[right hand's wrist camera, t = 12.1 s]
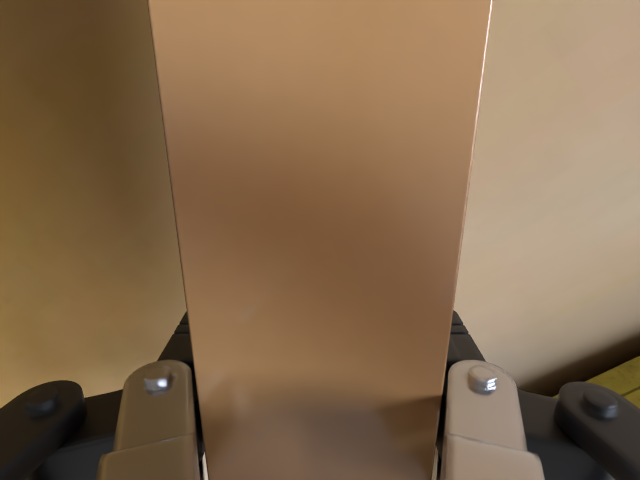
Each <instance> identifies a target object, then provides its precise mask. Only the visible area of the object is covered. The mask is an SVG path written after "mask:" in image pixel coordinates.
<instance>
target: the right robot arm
mask: <svg viewBox="0 0 640 480" xmlns="http://www.w3.org/2000/svg"><path fill="white" fill-rule="evenodd" d="M436 446H437V449H438V456H437V464H436V476H435V480H640V409H639V408H638V407H637V406H635V405H634V404H633V403H631V402H630V401H628V400H627V399H626V398H624V397H623V396H621V395H620V394H618V393H616V392H614V391H612V390H610V389H608V388H606V387H603V386H600V385H597V384H593V383H588V382H570V383H567V384H565V385H563V386H562V387H561V388H560V391H559V394H558V398H553V397H548V396H544V395H539V394H535V393H530V392H526V391H523V390H520V389H517V387H516V383H515V381H514V380H513V378H512V377H511V376H510V375H509V374H508V373H507V372H506V371H504V370H503V369H501V368H499V367H498V366H495V365H493V364H491V363H487V362H486V361H485V359H484V358H483V356H482V354H481V353H480V351H479V349H478V348H477V346H476V344H475V342H474V341H473V339H472V337H471V336H470V334H468V331H467V329H466V327H465V326H464V325H463V322H462V321H461V319H460V317H459V316H458V314H457V312H455V311H454V310H453V315H452V323H451V331H450V339H449V346H448V354H447V362H446V369H445V377H444V385H443V393H442V400H441V408H440V416H439V424H438V431H437V439H436ZM204 452H205V449H204V441H203V433H202V425H201V417H200V409H199V402H198V394H197V386H196V378H195V370H194V362H193V355H192V347H191V339H190V331H189V323H188V315H187V312H186V313H185V314H184V316H183V318H182V320H181V321H180V325H178V326H177V328H176V330H175V331H174V334H173V335H172V337H171V338H170V340H169V342H168V343H167V345H166V347H165V348H164V350H163V352H162V354H161V355H160V357H159V359H158V360H157V361H156V362H153V363H149V364H147V365H145V366H142V367H141V368H139V369H137V370H136V371H134V372H133V373H132V374H131V375H130V376H129V377H128V378H127V380H126V381H125V384H124V387H123V389H121V390H118V391H114V392H110V393H106V394H101V395H96V396H92V397H87V398H84V395H83V391H82V388H81V386H80V385H79V384H77V383H75V382H72V381H67V380H60V381H53V382H48V383H44V384H41V385H38V386H35V387H33V388H31V389H29V390H27V391H25V392H23V393H22V394H20V395H19V396H17V397H16V398H14V399H13V400H12V401H10V402H9V403H7V404H6V405H5V406H3V407H2V408H1V409H0V480H205V475H204V464H203V455H204Z"/></svg>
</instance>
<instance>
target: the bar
mask: <svg viewBox="0 0 640 480" xmlns="http://www.w3.org/2000/svg"><path fill="white" fill-rule="evenodd" d="M147 2H148V10H149V18H150V25H151V33H152V41H153V49H154V57H155V65H156V72H157V80H158V88H159V96H160V104H161V112H162V119H163V127H164V135H165V143H166V151H167V159H168V166H169V174H170V182H171V190H172V198H173V206H174V214H175V221H176V229H177V237H178V245H179V253H180V261H181V268H182V276H183V284H184V292H185V300H186V308H187V315H188V323H189V331H190V339H191V347H192V355H193V362H194V370H195V378H196V386H197V394H198V402H199V409H200V417H201V425H202V433H203V441H204V449H205V457H206V464H207V472H208V480H431V478H432V470H433V462H434V454H435V447H436V439H437V431H438V424H439V416H440V408H441V400H442V393H443V385H444V377H445V369H446V362H447V354H448V346H449V339H450V331H451V323H452V315H453V308H454V300H455V292H456V285H457V277H458V269H459V261H460V254H461V246H462V238H463V231H464V223H465V215H466V207H467V200H468V192H469V184H470V176H471V169H472V161H473V153H474V146H475V138H476V130H477V122H478V115H479V107H480V99H481V92H482V84H483V76H484V68H485V61H486V53H487V45H488V37H489V30H490V22H491V14H492V7H493V0H147Z"/></svg>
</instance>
